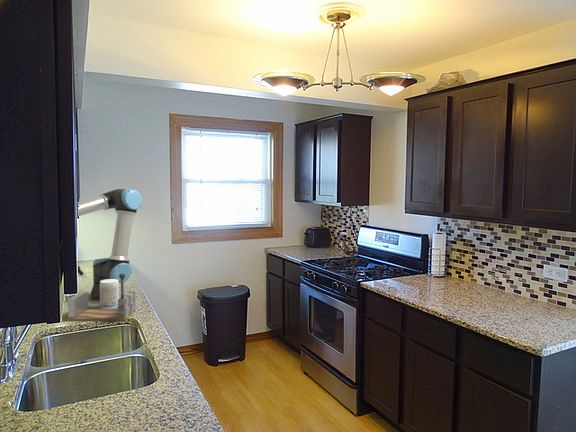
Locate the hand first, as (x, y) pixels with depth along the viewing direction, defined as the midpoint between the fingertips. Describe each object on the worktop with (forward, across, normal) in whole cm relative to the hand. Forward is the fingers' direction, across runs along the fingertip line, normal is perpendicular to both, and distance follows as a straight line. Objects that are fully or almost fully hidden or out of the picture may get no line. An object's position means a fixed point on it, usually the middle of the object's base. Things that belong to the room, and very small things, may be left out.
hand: (84, 277), depth 214 cm
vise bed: (+18, +13, -6) cm, 23 cm away
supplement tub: (+22, -1, -1) cm, 22 cm away
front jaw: (+11, +7, -13) cm, 18 cm away
